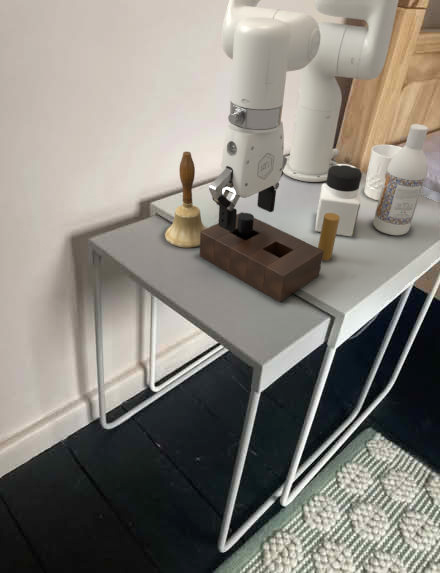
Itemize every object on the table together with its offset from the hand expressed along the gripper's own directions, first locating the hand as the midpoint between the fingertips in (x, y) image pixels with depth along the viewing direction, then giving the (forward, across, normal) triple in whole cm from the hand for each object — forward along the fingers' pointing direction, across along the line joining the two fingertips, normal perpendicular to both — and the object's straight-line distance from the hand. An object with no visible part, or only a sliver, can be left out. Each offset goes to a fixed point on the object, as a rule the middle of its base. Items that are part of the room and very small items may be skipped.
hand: (246, 218), depth 82 cm
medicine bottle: (+8, +22, -5) cm, 23 cm away
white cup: (+8, +42, -4) cm, 42 cm away
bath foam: (+8, +30, -13) cm, 33 cm away
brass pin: (+8, +10, -10) cm, 16 cm away
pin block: (+7, 0, -4) cm, 8 cm away
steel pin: (+7, 0, 0) cm, 8 cm away
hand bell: (+8, -3, +12) cm, 14 cm away
